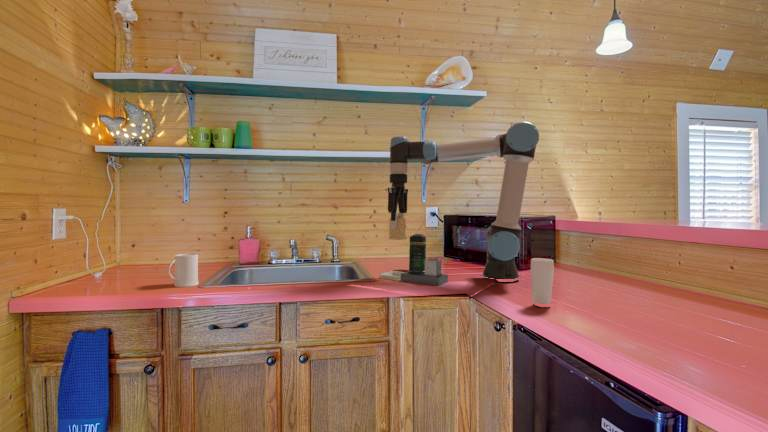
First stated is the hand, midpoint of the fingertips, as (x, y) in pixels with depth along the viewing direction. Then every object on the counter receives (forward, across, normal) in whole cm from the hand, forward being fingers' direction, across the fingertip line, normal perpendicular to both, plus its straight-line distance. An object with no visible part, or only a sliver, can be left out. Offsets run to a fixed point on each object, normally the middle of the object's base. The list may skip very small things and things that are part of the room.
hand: (397, 228), depth 158 cm
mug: (+24, +57, -64) cm, 89 cm away
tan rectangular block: (+5, 0, 0) cm, 5 cm away
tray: (+22, 0, -1) cm, 22 cm away
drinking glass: (+22, +11, +60) cm, 65 cm away
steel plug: (+21, +1, +18) cm, 27 cm away
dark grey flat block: (+22, +1, +14) cm, 26 cm away
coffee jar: (+22, -21, -1) cm, 31 cm away
